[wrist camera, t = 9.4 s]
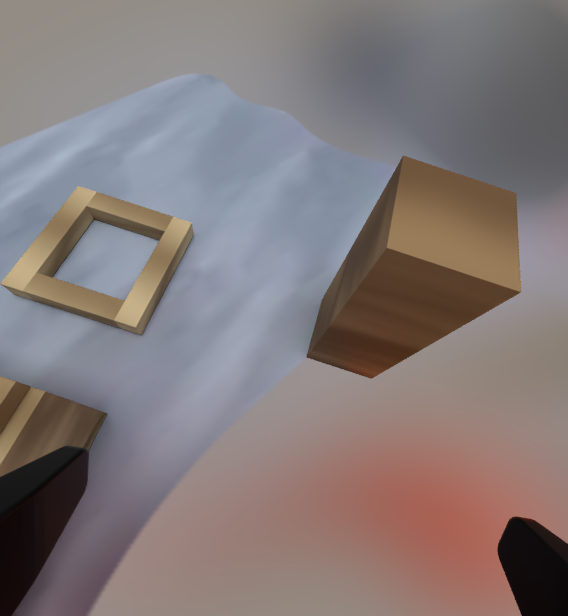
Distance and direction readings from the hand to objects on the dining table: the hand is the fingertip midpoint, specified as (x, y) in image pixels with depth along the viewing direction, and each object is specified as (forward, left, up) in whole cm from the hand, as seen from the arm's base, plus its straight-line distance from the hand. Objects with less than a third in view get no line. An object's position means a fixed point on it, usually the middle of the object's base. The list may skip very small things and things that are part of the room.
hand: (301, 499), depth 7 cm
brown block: (+9, -3, -10) cm, 14 cm away
